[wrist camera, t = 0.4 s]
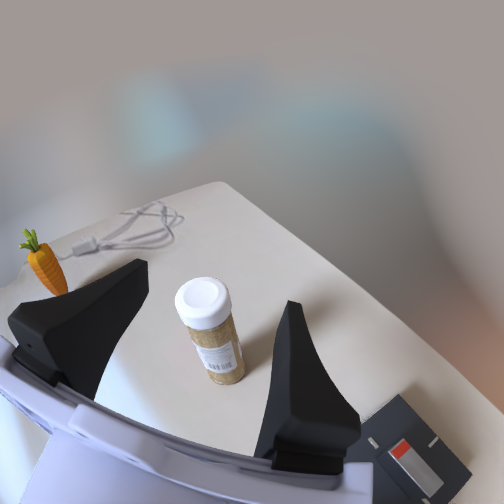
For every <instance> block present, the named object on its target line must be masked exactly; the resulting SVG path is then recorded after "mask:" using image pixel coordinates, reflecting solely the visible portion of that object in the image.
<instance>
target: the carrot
mask: <svg viewBox="0 0 504 504" xmlns="http://www.w3.org/2000/svg"><path fill="white" fill-rule="evenodd" d="M22 232H23V233H24V235H25V236H26V237H27V238H28V239H29V240H27V241H26V243H27V244H25V243H24V244H20V245H19V248H27V249H30V250H31V252H30V253H29V255H28V258H27V259H28V262H29V264H30V266H31V268H32V269H33V271H34V272H35V274H36V275H37V276H38V278H39V279H40V281H41V282H42V283H43V284H44V285H45V286H46V287H47V289H48V290H50V291H51V292H52V293H53V294H54V295H56V296H59V295H63V294H66V293H68V287H67V282H66V279H65V276H64V274H63V271H62V269H61V267H60V265H59V263H58V261H57V259H56V257H55V255H54V253H53V251H52V250H51V248H50V247H49V246H48V244H46V243H43V244H40V245H38V241H37V237H36V233H35V231H34V230H31V232H32V235H31V234H30V232H29V231H28V230H27V229H24V230H23V231H22Z"/></svg>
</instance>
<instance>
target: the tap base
mask: <svg viewBox="0 0 504 504" xmlns="http://www.w3.org/2000/svg"><path fill="white" fill-rule="evenodd" d="M401 439H405V441H406V442H407V443H408V444H409V445H410V446H411V447H412V448H413V449H414V451H415V452H416V453H417V454H418V455H419V456H420V457H421V458H422V459H423V461H424V462H425V463H426V464H427V465H428V466H429V467H430V468H431V469H432V470H433V471H434V473H435V474H436V475H437V476H438V477H439V478H440V479H441V480H442V481H443V482H444V484H443V485H442V486H441V487H440V488H439V489H438V490H437V491H436V492H435V493H434V494H433V495H432V496H431V497H430V498H425V499H417V500H411V499H410V498H409V497H408V495H407V494H406V493H405V492H404V491H403V490H402V489H401V488H400V487H399V485H398V484H397V483H396V482H395V481H394V480H393V479H392V478H391V476H390V475H389V474H388V473H387V472H386V471H385V470H384V469H383V467H382V466H381V465H380V464H379V463H378V462H377V460H376V459H375V458H376V457H377V456H378V455H380V454H381V453H382V452H383V451H384V450H386V449H387V448H388V447H389V446H391V445H393V444H394V443H396V442H398V441H399V440H401ZM348 462H372V463H373V499H372V504H448V503H449V502H450V501H451V499H452V498H453V497H454V496H455V495H456V494H457V493H458V492H459V491H460V489H461V488H462V487H463V486H464V485H465V483H466V482H467V481H468V480H469V479H470V477H471V476H472V475H473V474H472V473H471V472H470V471H469V470H468V469H467V468H466V467H465V466H464V465H463V463H462V462H461V461H460V460H459V459H458V458H457V457H456V456H455V455H454V454H453V452H452V451H451V450H450V449H449V448H448V447H447V446H446V445H445V444H444V443H443V442H442V440H441V439H440V438H439V437H438V436H437V435H436V434H435V433H434V432H433V431H432V430H431V429H430V427H429V426H428V425H427V424H426V423H425V422H424V421H423V420H422V419H421V418H420V417H419V416H418V415H417V413H416V412H415V411H414V410H413V409H412V408H411V407H410V406H409V405H408V404H407V403H406V402H405V401H404V400H403V398H402V397H401V396H400V395H399V394H398V395H396V396H395V397H394V398H393V399H392V400H391V401H390V402H389V403H387V404H386V405H385V406H384V407H383V408H382V409H380V410H379V411H378V412H377V413H376V414H374V415H373V416H372V417H371V418H369V419H368V420H367V421H366V422H364V423H363V424H362V425H361V438H360V439H359V440H358V441H357V442H356V443H354V444H353V445H351V446H350V447H349V448H347V455H346V457H345V458H344V459H343V464H344V463H348Z"/></svg>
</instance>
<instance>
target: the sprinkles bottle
mask: <svg viewBox="0 0 504 504" xmlns="http://www.w3.org/2000/svg"><path fill="white" fill-rule="evenodd" d="M175 305H176V308H177V311H178V313H179V315H180V318H181V320H182V321H183V322H184V323H185V324H186V326H187V328H188V331H189V333H190V335H191V339H192V341H193V343H194V345H195V347H196V349H197V351H198V354H199V356H200V358H201V360H202V362H203V364H204V365H205V367H206V368H207V371H208V375H209V376H210V378H211V379H212V380H213V381H214V382H216V383H218V384H221V385H230V384H234V383H236V382H237V381H239V380H240V379H241V378H242V377H243V375H244V373H245V369H246V367H245V361H244V359H243V357H242V351H241V346H240V343H239V339H238V336H237V333H236V329H235V325H234V321H233V317H232V313H231V307H232V304H231V299H230V295H229V292H228V289H227V287H226V285H225V284H224V283H223V282H222V281H220V280H218V279H216V278H213V277H199V278H195V279H192V280H190V281H188V282H187V283H185V284H184V285H183V286H182V287H181V288H180V289H179V290H178V292H177V294H176V297H175Z"/></svg>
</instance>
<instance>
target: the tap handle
mask: <svg viewBox="0 0 504 504" xmlns="http://www.w3.org/2000/svg"><path fill="white" fill-rule="evenodd" d="M375 459H376V460H377V462H378V463H379V464H380V465H381V466H382V467H383V469H384V470H385V471H386V472H387V473H388V474H389V475H390V476H391V478H392V479H393V480H394V481H395V482H396V483H397V484H398V485H399V487H400V488H401V489H402V490H403V491H404V492H405V493H406V494H407V495H408V497H409V498H410V499H411V500H417V499H425V498H430V497H431V496H432V495H433V494H434V493H435V492H436V491H437V490H438V489H439V488H440V487H441V486H442V485H443V484H444V482H443V481H442V480H441V479H440V478H439V477H438V476H437V475H436V474H435V473H434V471H433V470H432V469H431V468H430V467H429V466H428V465H427V464H426V463H425V462H424V461H423V459H422V458H421V457H420V456H419V455H418V454H417V453H416V452H415V451H414V449H413V448H412V447H411V446H410V445H409V444H408V443H407V442H406V441H405V439H401V440H399V441H398V442H396V443H394V444H393V445H391V446H389V447H388V448H387V449H386V450H384V451H383V452H382V453H381V454H380V455H378V456H377V457H376V458H375Z"/></svg>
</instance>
